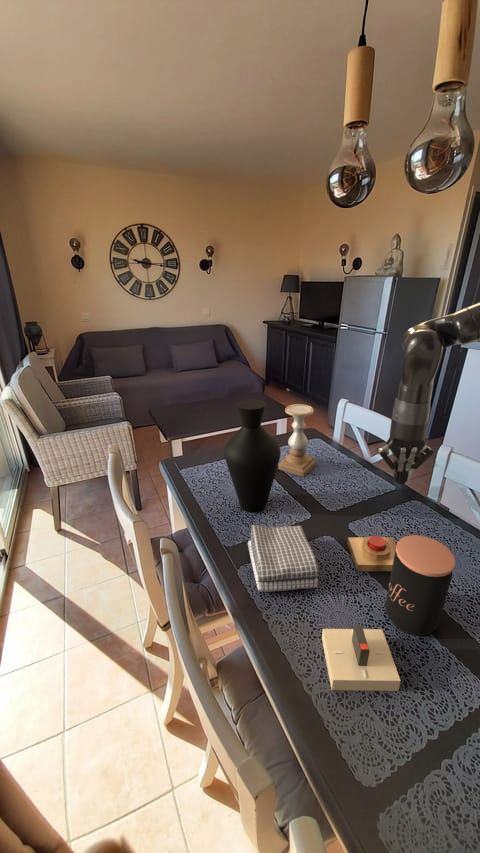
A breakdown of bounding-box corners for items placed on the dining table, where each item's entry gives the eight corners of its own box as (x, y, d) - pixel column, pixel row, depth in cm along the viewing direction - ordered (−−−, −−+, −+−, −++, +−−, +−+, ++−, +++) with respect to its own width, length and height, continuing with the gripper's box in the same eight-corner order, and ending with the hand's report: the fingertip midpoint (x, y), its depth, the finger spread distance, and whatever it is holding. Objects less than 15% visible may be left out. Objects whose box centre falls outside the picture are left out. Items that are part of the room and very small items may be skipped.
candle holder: (277, 469, 137) (278, 410, 128) (290, 457, 146) (292, 401, 136) (303, 477, 132) (306, 416, 122) (316, 464, 140) (319, 406, 130)
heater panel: (380, 638, 74) (382, 628, 73) (398, 691, 65) (400, 680, 64) (321, 638, 75) (322, 628, 74) (331, 690, 66) (332, 679, 64)
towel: (257, 598, 84) (257, 573, 81) (247, 543, 101) (246, 521, 98) (320, 590, 86) (322, 566, 83) (299, 538, 102) (301, 515, 99)
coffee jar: (377, 595, 84) (388, 534, 77) (424, 595, 84) (439, 534, 76) (394, 638, 74) (408, 573, 67) (447, 639, 74) (467, 573, 67)
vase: (240, 528, 107) (235, 419, 93) (219, 497, 121) (212, 400, 107) (289, 512, 113) (293, 408, 99) (264, 485, 128) (264, 391, 113)
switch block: (391, 543, 100) (393, 531, 98) (405, 571, 90) (407, 559, 89) (347, 543, 100) (348, 532, 98) (356, 571, 91) (358, 559, 89)
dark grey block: (351, 640, 71) (353, 624, 69) (359, 640, 71) (362, 625, 69) (358, 665, 67) (360, 650, 65) (367, 666, 67) (369, 650, 65)
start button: (381, 540, 95) (382, 535, 95) (386, 551, 92) (387, 546, 91) (366, 540, 96) (367, 535, 95) (371, 551, 92) (371, 546, 91)
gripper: (431, 410, 85) (420, 473, 92) (375, 412, 85) (367, 475, 92) (448, 422, 78) (434, 490, 85) (386, 424, 78) (377, 492, 85)
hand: (399, 482), depth 88 cm, fingers closed
